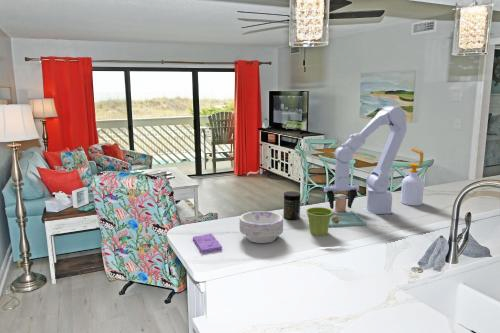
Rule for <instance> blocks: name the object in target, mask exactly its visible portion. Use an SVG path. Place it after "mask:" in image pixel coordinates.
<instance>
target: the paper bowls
mask: <svg viewBox="0 0 500 333" xmlns="http://www.w3.org/2000/svg"><path fill="white" fill-rule="evenodd" d="M239 232H240V234H243V235H244V236H245V237H246V239H247V240H248V241H250V242H252V243H257V244H267V243H271V242H274V241H275V240H276V239H277V238H278V236H280V235H282V234H283V233H284V217H283V215H281V214H280V213H277V212H274V211H265V210H256V211H255V210H253V211H249V212H246V213H242V214H241V215H240V216H239Z"/></svg>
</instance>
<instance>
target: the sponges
mask: <svg viewBox="0 0 500 333" xmlns="http://www.w3.org/2000/svg"><path fill="white" fill-rule="evenodd" d="M192 240H193V242H194V244H195V245H196V246H197V249H199V251H200V253H201V254H208V253H212V252H213V253H214V252H221V251H223V245H222V244H221V243H220V242H219V241H218V239H217V238H216V237H215V235H214V234H213V233H212V232H210V233H207V234H202V235H196V236H192Z"/></svg>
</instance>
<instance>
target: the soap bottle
mask: <svg viewBox="0 0 500 333" xmlns="http://www.w3.org/2000/svg"><path fill="white" fill-rule="evenodd" d="M410 151H411V152H414V153H418V154H419V163H414V162H409V163H408V166H410V168H412V169H410V170H409V174H408V175H407V176H405V177H403V179H402V181H401V189H400V190H401V191H400V202H401V203H402V204H403V205H407V206H413V207H415V206H417V207H418V206H421V205H422V204H423V198H424V189H425V181H424V179H422V178H421V177H420V176H418V174H419V170H417V169H418V167H420V166H421V165H423V162H424V152H423V151H421V150H419V149H416V148H415V147H413V148H411V149H410Z"/></svg>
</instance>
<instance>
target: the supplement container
mask: <svg viewBox="0 0 500 333" xmlns="http://www.w3.org/2000/svg"><path fill="white" fill-rule="evenodd" d="M301 194H302V193H300V192H298V191H293V190H292V191H286V192H283V205H282V206H283V210H282V211H283V213H282V214H283V215H282V217H283V219H285V220H288V221H297V220H299V219H300V218H301V196H302V195H301Z"/></svg>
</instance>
